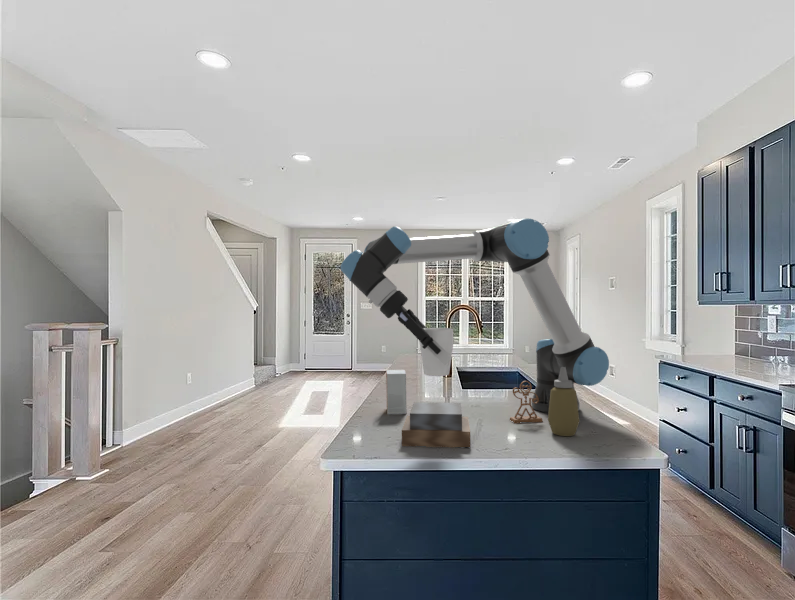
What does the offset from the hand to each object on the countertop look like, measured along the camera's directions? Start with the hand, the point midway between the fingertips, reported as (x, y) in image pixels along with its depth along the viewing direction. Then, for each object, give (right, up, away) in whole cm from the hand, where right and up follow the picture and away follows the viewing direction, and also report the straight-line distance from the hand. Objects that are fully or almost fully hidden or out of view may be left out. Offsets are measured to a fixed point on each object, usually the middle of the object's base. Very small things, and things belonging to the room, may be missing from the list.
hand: (448, 359), depth 128 cm
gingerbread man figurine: (+25, -21, +18) cm, 37 cm away
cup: (-3, -4, 0) cm, 5 cm away
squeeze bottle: (+31, -21, +4) cm, 38 cm away
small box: (-14, -21, +31) cm, 40 cm away
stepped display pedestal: (-3, -21, +1) cm, 21 cm away
